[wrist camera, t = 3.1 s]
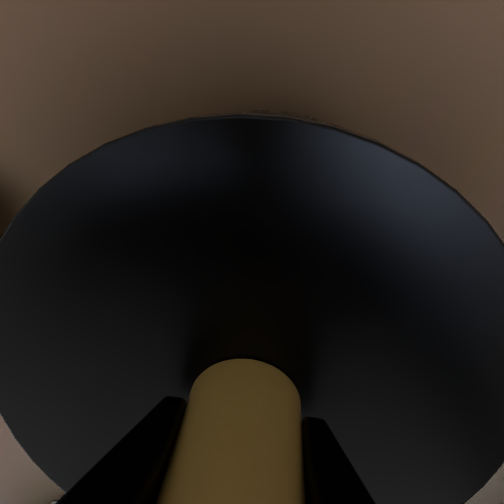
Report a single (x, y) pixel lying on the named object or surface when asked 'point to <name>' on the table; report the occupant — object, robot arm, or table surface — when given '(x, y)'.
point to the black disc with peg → (256, 312)
